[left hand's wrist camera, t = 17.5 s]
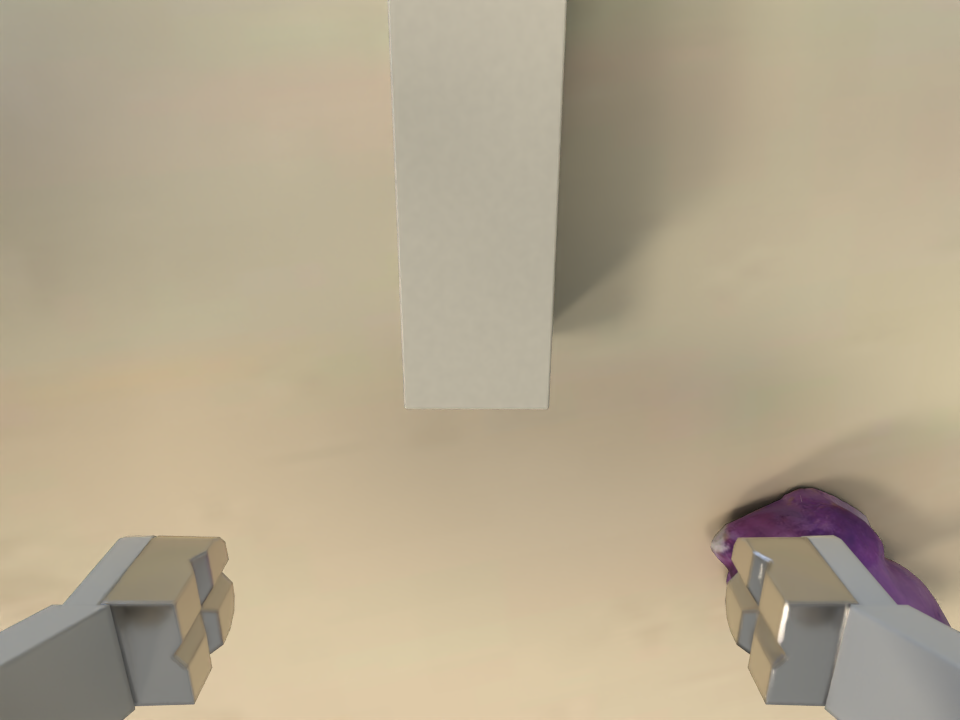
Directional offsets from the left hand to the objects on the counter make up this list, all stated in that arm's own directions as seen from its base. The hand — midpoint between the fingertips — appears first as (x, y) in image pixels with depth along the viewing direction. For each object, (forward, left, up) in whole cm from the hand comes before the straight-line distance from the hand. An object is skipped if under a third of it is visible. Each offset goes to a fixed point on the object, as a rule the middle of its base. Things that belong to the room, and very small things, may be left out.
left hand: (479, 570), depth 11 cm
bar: (+9, +2, -23) cm, 25 cm away
